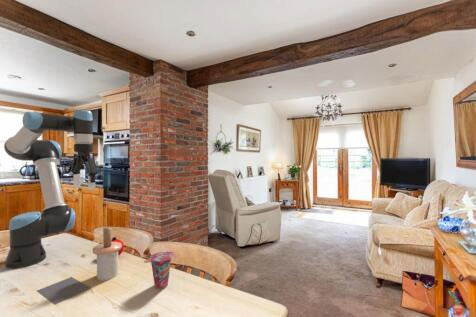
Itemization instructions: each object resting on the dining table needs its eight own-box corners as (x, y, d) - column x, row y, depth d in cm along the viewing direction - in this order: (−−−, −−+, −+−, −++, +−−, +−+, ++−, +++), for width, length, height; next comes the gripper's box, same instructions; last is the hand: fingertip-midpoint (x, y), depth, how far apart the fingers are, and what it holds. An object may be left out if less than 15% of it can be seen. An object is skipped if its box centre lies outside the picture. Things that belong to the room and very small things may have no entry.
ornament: (123, 258, 121) (123, 239, 121) (103, 261, 118) (103, 241, 117) (124, 251, 129) (124, 233, 129) (105, 254, 126) (105, 235, 126)
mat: (36, 292, 92) (36, 290, 92) (71, 278, 102) (71, 276, 102) (55, 306, 84) (54, 304, 84) (91, 289, 94) (91, 288, 94)
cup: (164, 293, 91) (163, 262, 91) (145, 289, 94) (145, 258, 94) (177, 280, 100) (177, 252, 100) (160, 277, 103) (160, 249, 103)
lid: (87, 250, 102) (87, 229, 101) (113, 242, 111) (112, 222, 111) (101, 256, 96) (100, 234, 95) (126, 247, 105) (126, 226, 105)
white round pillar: (109, 282, 99) (109, 253, 98) (92, 280, 100) (92, 252, 100) (122, 273, 107) (122, 246, 106) (106, 271, 108) (106, 245, 108)
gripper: (62, 143, 116) (62, 187, 116) (88, 142, 102) (89, 192, 103) (79, 144, 122) (79, 185, 122) (106, 143, 109) (106, 189, 109)
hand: (84, 188), depth 113 cm, fingers open, 13 cm apart
